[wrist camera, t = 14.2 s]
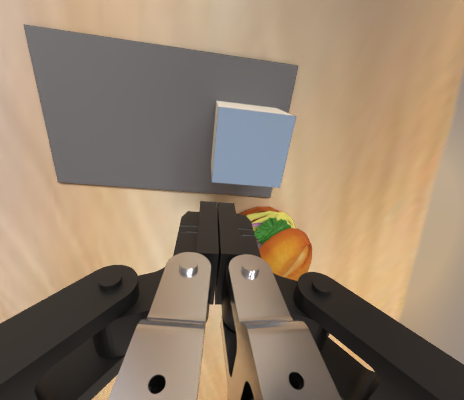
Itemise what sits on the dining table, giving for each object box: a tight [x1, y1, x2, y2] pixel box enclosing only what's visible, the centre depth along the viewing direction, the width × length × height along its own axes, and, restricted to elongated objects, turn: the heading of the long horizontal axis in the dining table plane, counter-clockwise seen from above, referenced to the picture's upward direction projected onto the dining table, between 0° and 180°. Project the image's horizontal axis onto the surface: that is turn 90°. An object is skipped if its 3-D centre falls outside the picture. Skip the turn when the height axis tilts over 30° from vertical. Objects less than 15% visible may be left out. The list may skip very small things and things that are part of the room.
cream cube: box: [211, 101, 296, 188], centre depth 26 cm, size 7×7×7 cm
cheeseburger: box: [240, 207, 312, 281], centre depth 32 cm, size 10×11×10 cm
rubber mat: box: [24, 25, 298, 198], centre depth 28 cm, size 27×16×1 cm, turn 83°
